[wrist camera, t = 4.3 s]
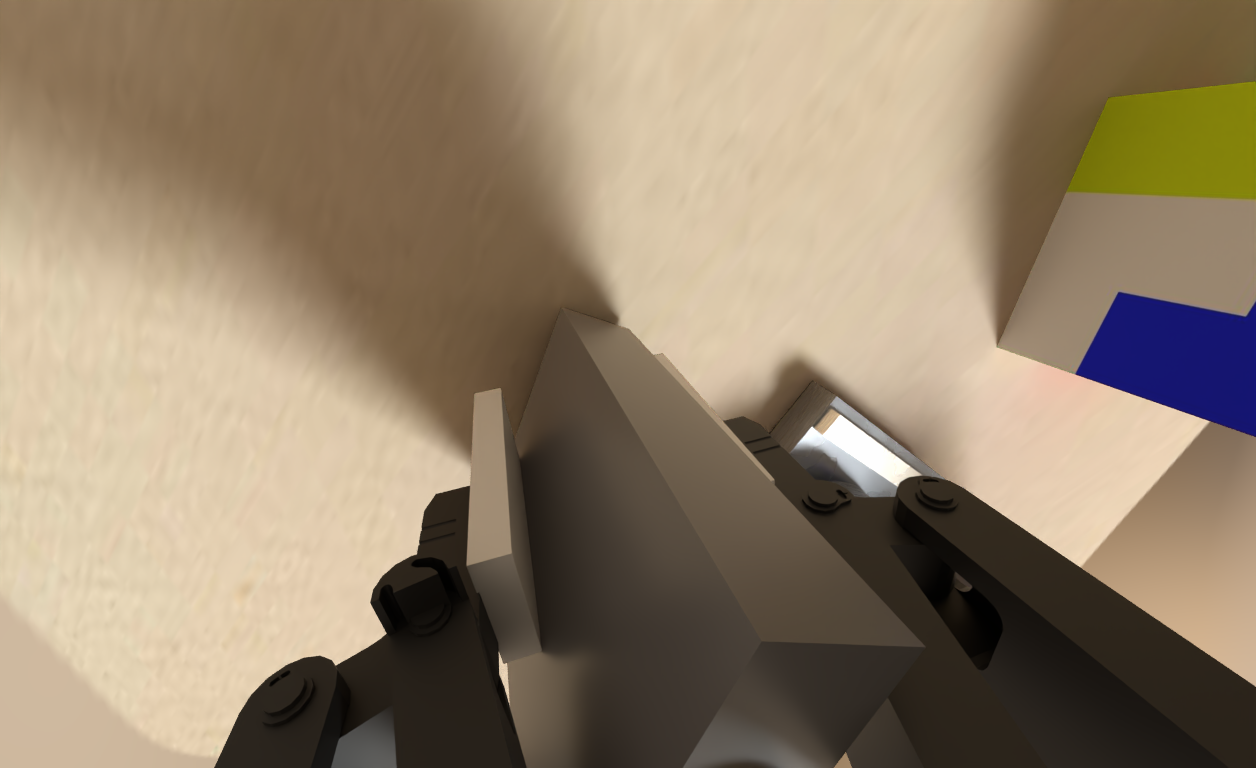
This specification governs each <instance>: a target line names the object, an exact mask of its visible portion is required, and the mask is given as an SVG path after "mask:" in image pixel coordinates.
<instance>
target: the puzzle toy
mask: <svg viewBox="0 0 1256 768" xmlns="http://www.w3.org/2000/svg"><path fill="white" fill-rule="evenodd" d="M997 347H998V348H1001V349H1003V350H1006V351H1009V352H1012V353H1015V354H1018V355H1021V356H1024V357H1027V358H1029V359H1032V360H1035V361H1038V362H1041V363H1044V364H1047V365H1050V366H1052V367H1055V368H1058V369H1061V370H1064V371H1067V372H1070V373H1073V374H1076V375H1078V376H1081V377H1084V378H1087V379H1090V380H1093V381H1096V382H1099V383H1101V384H1104V385H1107V386H1110V387H1113V388H1116V389H1119V390H1122V391H1125V392H1127V393H1130V394H1133V395H1136V396H1139V397H1142V398H1145V399H1148V400H1150V401H1153V402H1156V403H1159V404H1162V405H1165V406H1168V407H1171V408H1174V409H1176V410H1179V411H1182V412H1185V413H1188V414H1191V415H1194V416H1197V417H1199V418H1202V419H1205V420H1208V421H1211V422H1214V423H1217V424H1220V425H1223V426H1226V427H1228V428H1231V429H1235V430H1237V431H1240V432H1243V433H1246V434H1249V435H1251V436H1254V437H1256V81H1254V82H1245V83H1235V84H1226V85H1217V86H1208V87H1199V88H1190V89H1181V90H1172V91H1163V92H1154V93H1144V94H1135V95H1126V96H1117V97H1108V100H1107V102H1106V104H1105V106H1104V109H1103V111H1102V113H1101V115H1100V118H1099V120H1098V122H1097V124H1096V126H1095V129H1094V131H1093V133H1092V135H1091V138H1090V140H1089V142H1088V144H1087V147H1086V149H1085V151H1084V153H1083V156H1082V158H1081V160H1080V162H1079V164H1078V167H1077V169H1076V171H1075V173H1074V176H1073V178H1072V180H1071V182H1070V185H1069V187H1068V189H1067V191H1066V194H1065V196H1064V198H1063V200H1062V202H1061V205H1060V207H1059V209H1058V211H1057V214H1056V216H1055V218H1054V220H1053V223H1052V225H1051V227H1050V229H1049V232H1048V234H1047V236H1046V238H1045V240H1044V243H1043V245H1042V247H1041V249H1040V252H1039V254H1038V256H1037V258H1036V261H1035V263H1034V265H1033V267H1032V270H1031V272H1030V274H1029V276H1028V278H1027V281H1026V283H1025V285H1024V287H1023V290H1022V292H1021V294H1020V296H1019V299H1018V301H1017V303H1016V305H1015V308H1014V310H1013V312H1012V314H1011V316H1010V319H1009V321H1008V323H1007V325H1006V328H1005V330H1004V332H1003V334H1002V337H1001V339H1000V341H999V343H998V346H997Z"/></svg>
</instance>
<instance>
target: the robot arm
mask: <svg viewBox="0 0 1256 768" xmlns="http://www.w3.org/2000/svg"><path fill="white" fill-rule="evenodd" d="M654 357H655V358H656V359H657V360H658V361H659V362H660V363H661V364H662V365H663V366H664V367H665V368H666V369H667V370H668V372H669V373H670V374H671V375H672V376H673V377H674V378H675V379H676V380H677V381H678V382H679V383H680V384H681V385H682V387H683V388H684V389H685V390H686V391H687V392H688V393H689V394H690V395H691V396H692V397H693V398H694V399H695V400H696V401H697V403H698V404H699V405H700V406H701V407H702V408H703V409H704V410H705V411H706V412H707V413H708V414H709V415H710V416H711V418H712V419H713V420H714V421H715V422H716V423H717V424H718V425H719V426H720V427H721V428H722V429H723V430H724V431H725V433H726V434H727V435H728V436H729V437H730V438H731V439H732V440H733V441H734V442H735V443H736V444H737V445H738V446H739V448H740V449H741V450H742V451H743V452H744V453H745V454H746V455H747V456H748V457H749V458H750V459H751V460H752V461H753V463H754V464H755V465H756V466H757V467H758V468H759V469H760V470H761V471H762V472H763V473H764V474H765V475H766V476H767V478H768V479H769V480H770V481H771V482H772V483H773V484H774V485H775V486H776V487H777V488H778V489H779V490H780V491H781V493H782V494H783V495H784V496H785V497H786V498H787V499H788V500H789V501H790V502H791V503H792V504H793V505H794V506H795V508H796V509H797V510H798V511H799V512H800V513H801V514H802V515H803V516H804V517H805V518H806V519H807V520H808V521H809V522H810V524H811V525H812V526H813V527H814V528H815V529H816V530H817V531H818V532H819V533H820V534H821V535H822V536H823V537H824V539H825V540H826V541H827V542H828V543H829V544H830V545H831V546H832V547H833V548H834V549H835V550H836V551H837V552H838V554H839V555H840V556H841V557H842V558H843V559H844V560H845V561H846V562H847V563H848V564H849V565H850V566H851V567H852V569H853V570H854V571H855V572H856V573H857V574H858V575H859V576H860V577H861V578H862V579H863V580H864V581H865V582H866V584H867V585H868V586H869V587H870V588H871V589H872V590H873V591H874V592H875V593H876V594H877V595H878V596H879V597H880V599H881V600H882V601H883V602H884V603H885V604H886V605H887V606H888V607H889V608H890V609H891V610H892V611H893V612H894V614H895V615H896V616H897V617H898V618H899V619H900V620H901V621H902V622H903V623H904V624H905V625H906V626H907V627H908V629H909V630H910V631H911V632H912V633H913V634H914V635H915V636H916V637H917V638H918V639H919V640H920V641H921V642H922V643H923V645H924V646H925V647H926V648H925V649H924V650H923V652H922V653H921V654H920V655H919V657H918V658H917V659H916V661H915V662H914V663H913V665H912V666H911V667H910V669H909V670H908V671H907V672H906V674H905V675H904V676H903V678H902V679H901V680H900V682H899V683H898V684H897V686H896V687H895V688H894V689H893V691H892V692H891V693H890V695H889V696H888V697H887V699H886V700H885V701H884V703H883V704H882V705H881V706H880V708H879V709H878V710H877V712H876V713H875V714H874V716H873V717H872V718H871V720H870V721H869V722H868V723H867V725H866V726H865V727H864V729H863V730H862V731H861V733H860V734H859V735H858V737H857V738H856V739H855V740H854V742H853V743H852V744H851V746H850V747H849V748H848V750H847V751H846V753H847V756H848V758H849V761H850V763H851V766H852V768H1256V687H1255V686H1254V685H1252V684H1251V683H1249V682H1248V681H1246V680H1245V679H1244V678H1242V677H1241V676H1239V675H1238V674H1236V673H1235V672H1233V671H1232V670H1230V669H1229V668H1227V667H1226V666H1224V665H1223V664H1221V663H1220V662H1218V661H1217V660H1216V659H1214V658H1213V657H1211V656H1210V655H1208V654H1207V653H1205V652H1204V651H1202V650H1201V649H1199V648H1198V647H1196V646H1195V645H1193V644H1192V643H1191V642H1189V641H1188V640H1186V639H1185V638H1183V637H1182V636H1180V635H1179V634H1177V633H1176V632H1174V631H1173V630H1171V629H1170V628H1168V627H1167V626H1166V625H1164V624H1162V623H1161V622H1160V621H1158V620H1157V619H1155V618H1154V617H1152V616H1151V615H1149V614H1148V613H1146V612H1145V611H1143V610H1142V609H1141V608H1139V607H1137V606H1136V605H1135V604H1133V603H1132V602H1130V601H1129V600H1127V599H1126V598H1124V597H1123V596H1121V595H1120V594H1118V593H1117V592H1115V591H1114V590H1113V589H1111V588H1110V587H1108V586H1107V585H1105V584H1104V583H1102V582H1101V581H1099V580H1098V579H1096V578H1095V577H1093V576H1092V575H1090V574H1089V573H1087V572H1086V571H1084V570H1083V569H1082V568H1080V567H1079V566H1077V565H1076V564H1074V563H1073V562H1071V561H1070V560H1068V559H1067V558H1065V557H1064V556H1062V555H1061V554H1060V553H1058V552H1057V551H1055V550H1054V549H1052V548H1051V547H1049V546H1048V545H1046V544H1045V543H1043V542H1042V541H1040V540H1039V539H1037V538H1036V537H1034V536H1033V535H1032V534H1030V533H1029V532H1027V531H1026V530H1024V529H1023V528H1021V527H1020V526H1018V525H1017V524H1015V523H1014V522H1012V521H1011V520H1009V519H1008V518H1007V517H1005V516H1004V515H1002V514H1001V513H999V512H998V511H996V510H995V509H993V508H992V507H990V506H989V505H987V504H986V503H984V502H983V501H981V500H980V499H979V498H977V497H976V496H974V495H973V494H971V493H970V492H968V491H967V490H965V489H964V488H962V487H960V486H958V485H956V484H954V483H953V482H951V481H948V480H944V479H941V478H938V477H932V476H921V475H920V476H914V477H908V478H906V479H904V480H903V481H901V482H900V483H899V485H898V487H897V490H896V495H895V497H855V496H854V495H853V494H852V493H851V492H850V491H849V490H848V489H846V488H844V487H842V486H840V485H838V484H836V483H833V482H829V481H825V480H815V479H814V478H813V477H812V476H811V475H810V474H809V473H808V472H807V471H806V470H805V469H804V468H803V467H802V466H801V465H800V464H799V463H798V462H797V461H796V460H795V459H794V458H793V457H792V456H791V455H790V454H789V453H788V452H787V451H786V450H785V449H784V448H783V447H781V446H780V444H779V443H778V442H777V441H776V440H775V439H774V438H771V435H770V434H769V433H768V432H767V431H766V430H765V429H764V428H763V427H762V426H761V425H760V424H758V423H756V422H753V421H751V420H749V419H747V418H745V417H739V418H735V419H731V420H727V421H722V420H721V418H720V417H719V416H718V415H717V414H716V413H715V412H714V411H713V409H712V408H711V407H710V406H709V405H708V404H707V403H706V402H705V400H704V399H703V398H702V397H701V396H700V395H699V394H698V392H697V391H696V390H695V389H694V388H693V387H692V386H691V385H690V383H689V382H688V381H687V380H686V379H685V378H684V377H683V375H682V374H681V373H680V372H679V371H678V370H677V369H676V368H675V366H674V365H673V364H672V363H671V362H670V361H669V360H668V358H667V357H666V356H665V355H664V354H663V353H661V354H657V355H654ZM419 543H420V545H419V546H418V551H417V555H414V556H411V557H409V558H407V559H405V560H403V561H402V562H400V563H398V564H396V565H395V566H394V567H392V568H391V569H390V570H389V571H388V572H387V573H386V574H384V575H383V576H382V578H381V579H380V581H379V582H378V584H377V585H376V586H375V588H374V589H373V593H372V598H371V602H370V603H371V605H372V607H373V609H374V611H375V613H376V614H377V616H378V618H379V620H380V622H381V624H382V625H383V627H384V629H385V631H386V633H387V634H386V635H385V636H383V637H382V638H381V639H380V640H378V641H377V642H375V643H374V644H372V645H371V646H369V647H368V648H366V649H364V650H363V651H361V652H359V653H357V654H356V655H354V656H352V657H350V658H349V659H347V660H345V661H343V662H341V663H340V664H338V665H336V666H335V664H334V663H333V661H332V660H330V659H327V658H325V657H322V656H314V657H306V658H302V659H300V660H298V661H295V662H293V663H290V664H288V665H286V666H284V667H283V668H282V669H280V670H279V671H277V672H276V673H274V674H273V675H272V676H270V677H269V678H267V679H266V680H265V681H264V682H263V683H262V684H261V685H260V686H259V687H258V688H257V690H256V691H255V692H254V693H253V694H252V695H251V696H250V698H249V699H248V701H247V702H246V704H245V705H244V707H243V709H242V710H241V712H240V713H239V715H238V718H237V720H236V722H235V724H234V726H233V728H232V731H231V733H230V735H229V737H228V739H227V741H226V744H225V746H224V748H223V750H222V752H221V754H220V757H219V759H218V761H217V763H216V765H215V767H214V768H527V767H526V763H525V760H524V756H523V752H522V749H521V745H520V742H519V738H518V735H517V731H516V727H515V724H514V720H513V717H512V713H511V710H510V706H509V702H508V699H507V695H506V692H505V688H504V685H503V683H502V680H501V678H500V675H499V653H500V655H501V658H502V661H503V663H504V664H505V663H508V662H511V661H514V660H517V659H520V658H524V657H527V656H530V655H533V654H536V653H539V652H541V651H542V647H541V638H540V630H539V621H538V612H537V604H536V595H535V587H534V578H533V569H532V561H531V552H530V543H529V535H528V526H527V517H526V509H525V500H524V491H523V483H522V474H521V465H520V458H519V454H518V451H517V447H516V443H515V439H514V436H513V432H512V428H511V424H510V421H509V417H508V413H507V409H506V406H505V402H504V398H503V394H502V391H501V388H498V389H493V390H488V391H484V392H479V393H474V412H473V434H472V456H471V478H470V486H467V487H463V488H459V489H455V490H451V491H447V492H443V493H439V494H436V495H435V496H434V498H433V499H432V501H431V502H430V504H429V505H428V506H427V508H426V509H425V511H424V516H423V522H422V531H421V534H420V540H419ZM957 574H959V575H960V576H961V577H962V578H963V579H965V580H966V581H967V582H968V583H969V584H970V585H972V588H970V587H967V586H966V585H964V584H963V583H961V582H960V581H959V580H958V579H957V578H956V577H957Z"/></svg>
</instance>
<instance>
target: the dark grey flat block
mask: <svg viewBox="0 0 1256 768" xmlns="http://www.w3.org/2000/svg"><path fill="white" fill-rule="evenodd" d="M515 443H516V447H517V451H518V454H519V458H520V465H521V474H522V483H523V491H524V500H525V509H526V517H527V526H528V535H529V543H530V552H531V561H532V569H533V578H534V587H535V595H536V604H537V612H538V621H539V630H540V638H541V647H542V651H541V652H539V653H536V654H533V655H530V656H527V657H524V658H520V659H517V660H514V661H511V662H508V663H507V666H508V682H509V699H510V710H511V713H512V717H513V720H514V724H515V727H516V731H517V735H518V738H519V742H520V745H521V749H522V752H523V756H524V760H525V763H526V767H527V768H834V767H835V765H836V764H837V763H838V761H839V760H840V759H841V757H842V756H843V755H844V753H845V752H846V751H847V750H848V748H849V747H850V746H851V744H852V743H853V742H854V740H855V739H856V738H857V737H858V735H859V734H860V733H861V731H862V730H863V729H864V727H865V726H866V725H867V723H868V722H869V721H870V720H871V718H872V717H873V716H874V714H875V713H876V712H877V710H878V709H879V708H880V706H881V705H882V704H883V703H884V701H885V700H886V699H887V697H888V696H889V695H890V693H891V692H892V691H893V689H894V688H895V687H896V686H897V684H898V683H899V682H900V680H901V679H902V678H903V676H904V675H905V674H906V672H907V671H908V670H909V669H910V667H911V666H912V665H913V663H914V662H915V661H916V659H917V658H918V657H919V655H920V654H921V653H922V652H923V650H924V649H925V648H926V647H925V646H924V645H923V643H922V642H921V641H920V640H919V639H918V638H917V637H916V636H915V635H914V634H913V633H912V632H911V631H910V630H909V629H908V627H907V626H906V625H905V624H904V623H903V622H902V621H901V620H900V619H899V618H898V617H897V616H896V615H895V614H894V612H893V611H892V610H891V609H890V608H889V607H888V606H887V605H886V604H885V603H884V602H883V601H882V600H881V599H880V597H879V596H878V595H877V594H876V593H875V592H874V591H873V590H872V589H871V588H870V587H869V586H868V585H867V584H866V582H865V581H864V580H863V579H862V578H861V577H860V576H859V575H858V574H857V573H856V572H855V571H854V570H853V569H852V567H851V566H850V565H849V564H848V563H847V562H846V561H845V560H844V559H843V558H842V557H841V556H840V555H839V554H838V552H837V551H836V550H835V549H834V548H833V547H832V546H831V545H830V544H829V543H828V542H827V541H826V540H825V539H824V537H823V536H822V535H821V534H820V533H819V532H818V531H817V530H816V529H815V528H814V527H813V526H812V525H811V524H810V522H809V521H808V520H807V519H806V518H805V517H804V516H803V515H802V514H801V513H800V512H799V511H798V510H797V509H796V508H795V506H794V505H793V504H792V503H791V502H790V501H789V500H788V499H787V498H786V497H785V496H784V495H783V494H782V493H781V491H780V490H779V489H778V488H777V487H776V486H775V485H774V484H773V483H772V482H771V481H770V480H769V479H768V478H767V476H766V475H765V474H764V473H763V472H762V471H761V470H760V469H759V468H758V467H757V466H756V465H755V464H754V463H753V461H752V460H751V459H750V458H749V457H748V456H747V455H746V454H745V453H744V452H743V451H742V450H741V449H740V448H739V446H738V445H737V444H736V443H735V442H734V441H733V440H732V439H731V438H730V437H729V436H728V435H727V434H726V433H725V431H724V430H723V429H722V428H721V427H720V426H719V425H718V424H717V423H716V422H715V421H714V420H713V419H712V418H711V416H710V415H709V414H708V413H707V412H706V411H705V410H704V409H703V408H702V407H701V406H700V405H699V404H698V403H697V401H696V400H695V399H694V398H693V397H692V396H691V395H690V394H689V393H688V392H687V391H686V390H685V389H684V388H683V387H682V385H681V384H680V383H679V382H678V381H677V380H676V379H675V378H674V377H673V376H672V375H671V374H670V373H669V372H668V370H667V369H666V368H665V367H664V366H663V365H662V364H661V363H660V362H659V361H658V360H657V359H656V358H655V357H654V355H653V354H652V353H651V352H650V351H649V350H648V349H647V348H646V347H645V346H644V345H643V344H642V343H641V342H640V340H639V339H638V338H637V337H636V336H635V335H634V334H633V333H632V332H631V331H630V330H629V329H627V328H624V327H621V326H618V325H615V324H612V323H609V322H606V321H603V320H600V319H597V318H594V317H591V316H587V315H584V314H581V313H578V312H575V311H572V310H569V309H566V308H563V307H561V309H560V312H559V315H558V318H557V321H556V323H555V326H554V329H553V332H552V335H551V337H550V340H549V343H548V346H547V349H546V352H545V354H544V357H543V360H542V363H541V366H540V369H539V371H538V374H537V377H536V380H535V383H534V385H533V388H532V391H531V394H530V397H529V400H528V402H527V405H526V408H525V411H524V414H523V416H522V419H521V422H520V425H519V428H518V431H517V433H516V436H515Z"/></svg>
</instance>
